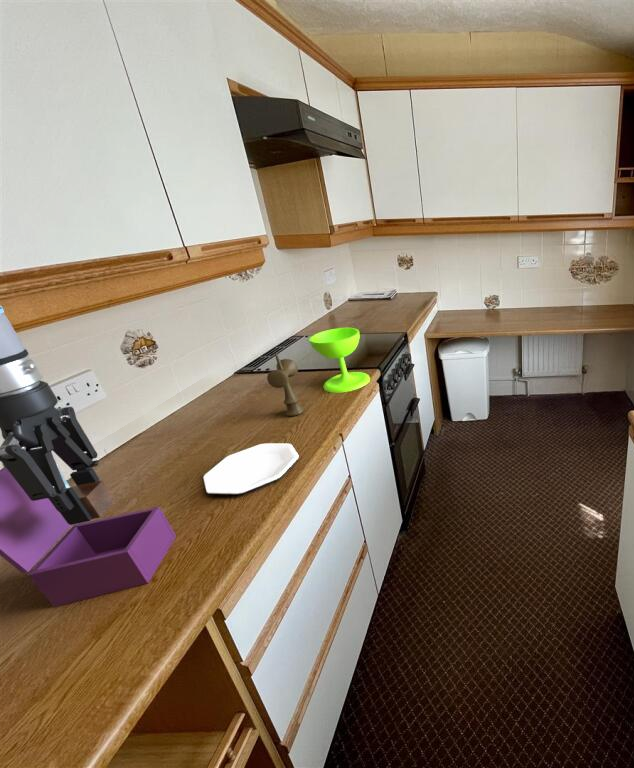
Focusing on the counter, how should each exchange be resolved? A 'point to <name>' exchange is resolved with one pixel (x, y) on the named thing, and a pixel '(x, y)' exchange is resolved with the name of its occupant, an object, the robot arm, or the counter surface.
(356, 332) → the wineglass
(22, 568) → the lid
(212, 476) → the plate
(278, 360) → the kendama
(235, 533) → the counter surface
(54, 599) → the purple hinged box
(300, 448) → the counter surface
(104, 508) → the block
